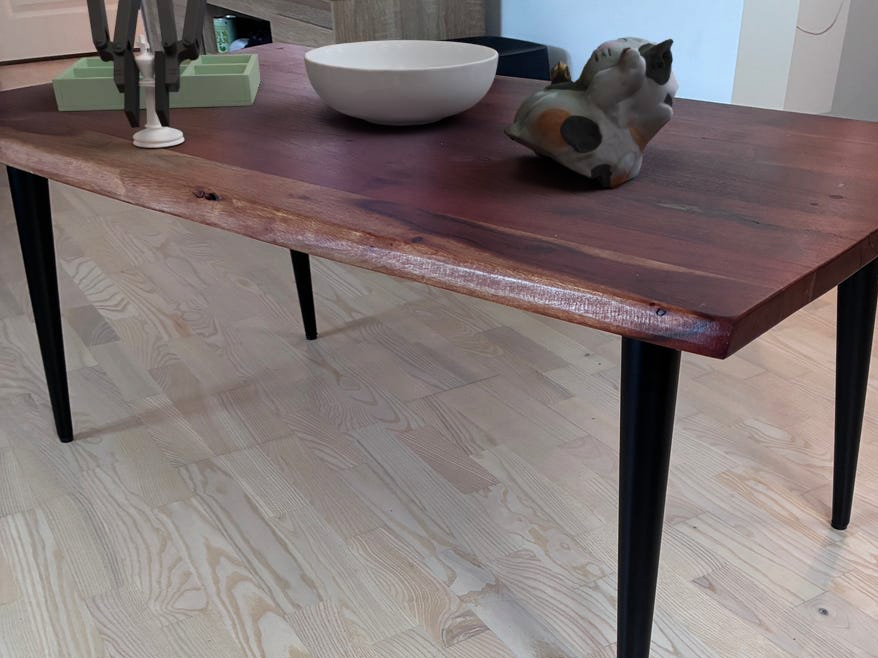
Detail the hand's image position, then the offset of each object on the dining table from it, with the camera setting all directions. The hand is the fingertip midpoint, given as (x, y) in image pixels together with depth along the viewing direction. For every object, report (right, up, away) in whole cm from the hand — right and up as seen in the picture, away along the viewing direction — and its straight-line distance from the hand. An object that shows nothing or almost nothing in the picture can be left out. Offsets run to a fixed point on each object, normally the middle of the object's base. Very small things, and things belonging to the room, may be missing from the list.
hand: (147, 118), depth 88 cm
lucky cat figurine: (+41, -6, -4) cm, 42 cm away
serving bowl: (+23, +5, +15) cm, 28 cm away
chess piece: (-1, -1, +5) cm, 5 cm away
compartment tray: (-7, +11, +25) cm, 28 cm away
